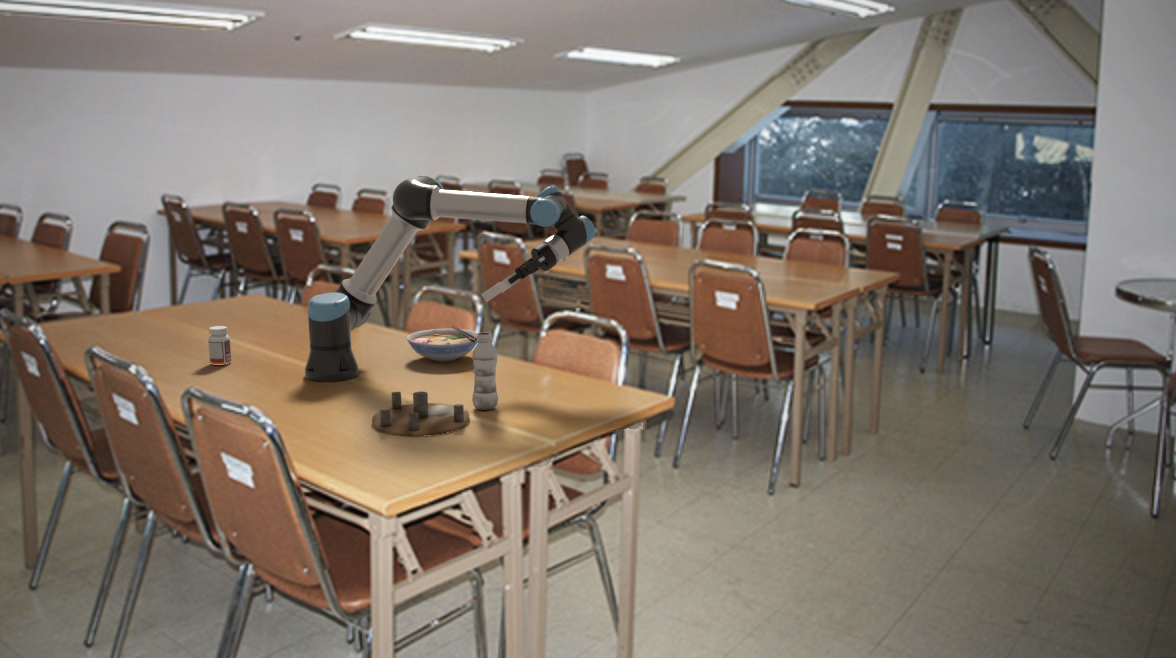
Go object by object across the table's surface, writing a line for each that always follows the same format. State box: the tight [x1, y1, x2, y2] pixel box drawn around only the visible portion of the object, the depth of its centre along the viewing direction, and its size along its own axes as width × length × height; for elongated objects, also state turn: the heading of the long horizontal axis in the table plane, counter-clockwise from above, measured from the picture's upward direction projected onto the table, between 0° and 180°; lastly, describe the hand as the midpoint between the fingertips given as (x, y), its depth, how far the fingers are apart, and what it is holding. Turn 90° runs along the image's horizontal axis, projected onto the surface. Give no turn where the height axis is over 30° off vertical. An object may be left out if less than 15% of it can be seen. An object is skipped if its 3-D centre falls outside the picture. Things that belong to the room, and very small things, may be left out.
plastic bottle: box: [471, 331, 499, 410], centre depth 264 cm, size 6×7×20 cm
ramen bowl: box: [406, 325, 479, 363], centre depth 317 cm, size 25×23×8 cm
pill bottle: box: [207, 325, 232, 364], centre depth 310 cm, size 6×6×11 cm
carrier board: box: [371, 391, 470, 437], centre depth 255 cm, size 24×24×7 cm
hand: (491, 293), depth 281 cm, fingers open, 13 cm apart
